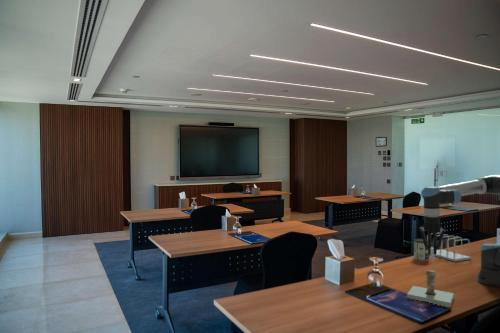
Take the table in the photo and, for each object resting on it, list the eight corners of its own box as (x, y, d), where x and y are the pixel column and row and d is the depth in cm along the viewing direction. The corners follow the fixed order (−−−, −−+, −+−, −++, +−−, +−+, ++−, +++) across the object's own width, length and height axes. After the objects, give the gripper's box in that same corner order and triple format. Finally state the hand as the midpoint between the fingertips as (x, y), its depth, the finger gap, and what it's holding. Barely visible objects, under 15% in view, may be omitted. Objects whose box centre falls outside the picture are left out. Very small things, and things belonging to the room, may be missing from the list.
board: (453, 298, 188) (453, 293, 188) (450, 307, 176) (450, 302, 176) (413, 290, 200) (413, 285, 200) (407, 298, 188) (407, 293, 188)
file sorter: (471, 259, 260) (471, 238, 260) (454, 262, 253) (454, 240, 253) (441, 251, 283) (441, 232, 283) (425, 253, 277) (425, 233, 276)
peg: (436, 297, 189) (436, 270, 188) (434, 300, 185) (434, 273, 185) (426, 296, 191) (426, 269, 191) (424, 298, 188) (425, 271, 187)
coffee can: (425, 257, 267) (425, 238, 266) (431, 261, 256) (432, 241, 256) (411, 257, 267) (411, 238, 267) (417, 261, 256) (417, 241, 256)
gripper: (446, 215, 188) (447, 259, 189) (419, 214, 196) (420, 256, 196) (444, 217, 182) (445, 263, 183) (417, 216, 189) (418, 260, 190)
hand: (432, 259), depth 189 cm, fingers closed
